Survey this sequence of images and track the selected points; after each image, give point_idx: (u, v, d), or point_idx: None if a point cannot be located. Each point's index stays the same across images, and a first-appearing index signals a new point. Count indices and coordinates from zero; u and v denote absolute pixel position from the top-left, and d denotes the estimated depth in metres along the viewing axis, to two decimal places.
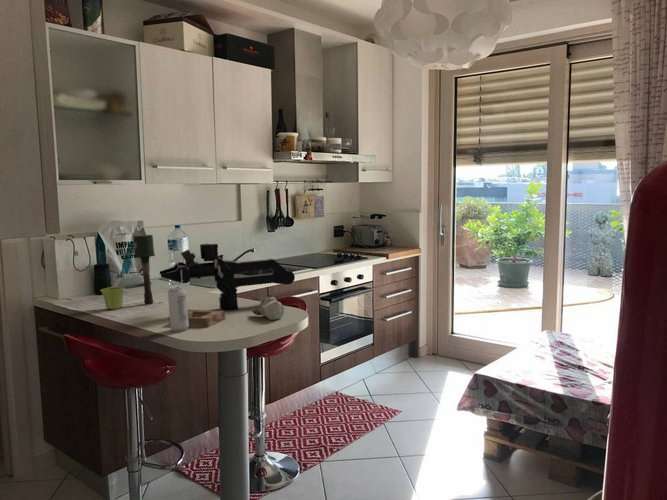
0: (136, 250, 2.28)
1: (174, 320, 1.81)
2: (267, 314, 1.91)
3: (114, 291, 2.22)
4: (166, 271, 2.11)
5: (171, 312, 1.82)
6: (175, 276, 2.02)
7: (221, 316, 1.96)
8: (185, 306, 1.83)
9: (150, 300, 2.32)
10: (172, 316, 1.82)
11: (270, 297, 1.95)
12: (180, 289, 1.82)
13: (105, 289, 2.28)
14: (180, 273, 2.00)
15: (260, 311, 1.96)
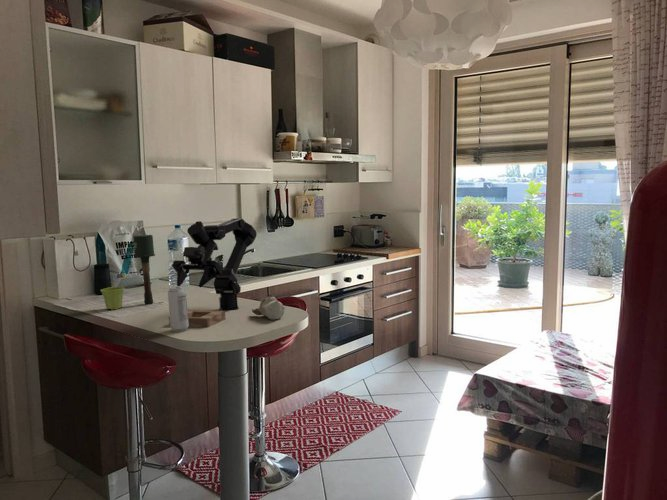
0: (136, 250, 2.28)
1: (174, 320, 1.81)
2: (268, 314, 1.92)
3: (114, 291, 2.22)
4: (180, 280, 1.93)
5: (171, 312, 1.82)
6: (208, 276, 1.92)
7: (221, 316, 1.96)
8: (185, 306, 1.83)
9: (150, 300, 2.32)
10: (172, 316, 1.82)
11: (270, 297, 1.95)
12: (180, 289, 1.82)
13: (105, 289, 2.28)
14: (213, 270, 1.91)
15: (260, 311, 1.96)
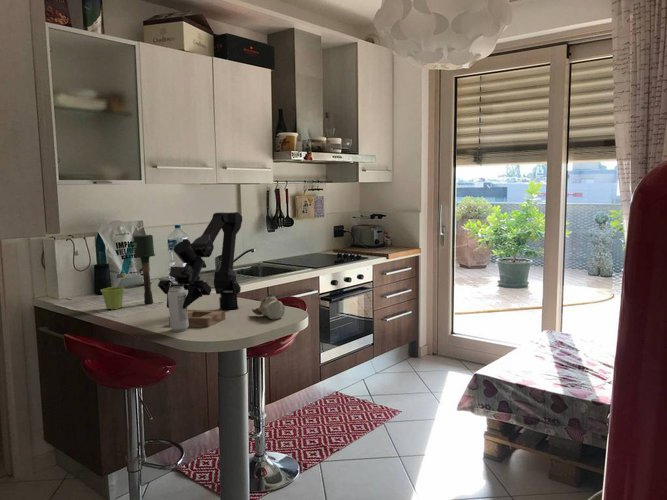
0: (136, 250, 2.28)
1: (174, 320, 1.81)
2: (268, 314, 1.92)
3: (114, 291, 2.22)
4: None
5: (171, 312, 1.82)
6: (192, 296, 1.85)
7: (221, 316, 1.96)
8: None
9: (150, 300, 2.32)
10: (172, 316, 1.82)
11: (271, 297, 1.96)
12: (180, 289, 1.82)
13: (105, 289, 2.28)
14: (198, 290, 1.84)
15: (261, 311, 1.97)
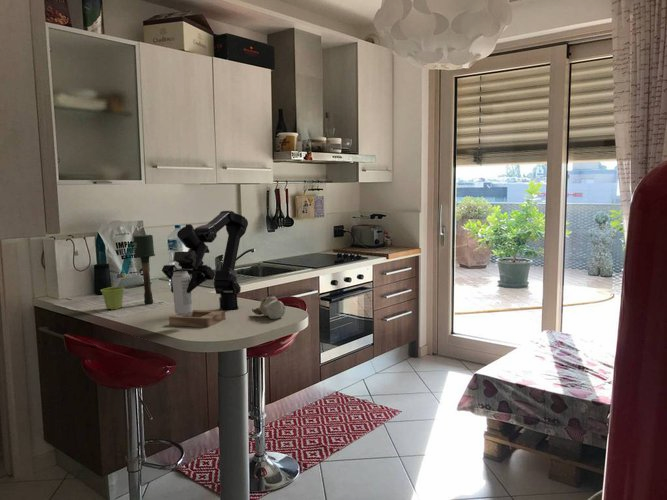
0: (136, 250, 2.28)
1: (179, 304, 1.84)
2: (269, 313, 1.92)
3: (114, 291, 2.22)
4: None
5: (175, 296, 1.84)
6: (196, 281, 1.87)
7: (221, 316, 1.96)
8: None
9: (150, 300, 2.32)
10: (176, 300, 1.84)
11: (271, 296, 1.96)
12: (184, 274, 1.84)
13: (105, 289, 2.28)
14: (201, 275, 1.86)
15: (261, 310, 1.97)
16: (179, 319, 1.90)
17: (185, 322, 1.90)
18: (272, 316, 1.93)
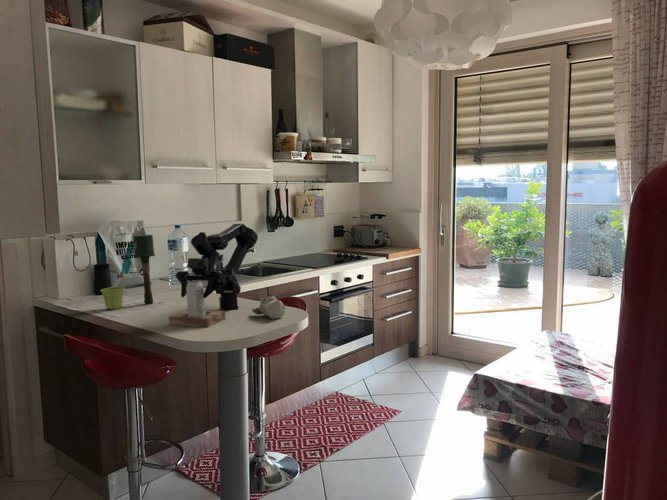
0: (136, 250, 2.28)
1: (192, 313, 1.91)
2: (268, 313, 1.93)
3: (114, 291, 2.22)
4: (184, 290, 1.95)
5: (189, 305, 1.92)
6: (212, 286, 1.94)
7: (221, 316, 1.96)
8: (202, 300, 1.93)
9: (150, 300, 2.32)
10: (190, 309, 1.92)
11: (271, 296, 1.97)
12: (198, 283, 1.92)
13: (105, 289, 2.28)
14: (217, 281, 1.93)
15: (261, 310, 1.97)
16: (179, 319, 1.90)
17: (185, 322, 1.90)
18: (272, 316, 1.93)
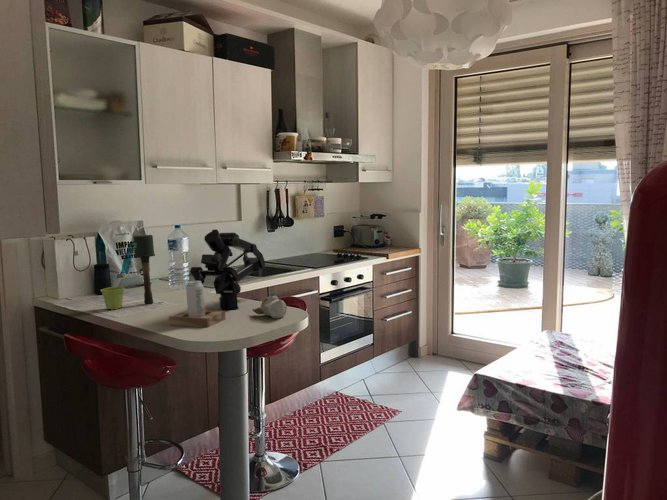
0: (136, 250, 2.28)
1: (192, 313, 1.91)
2: (271, 313, 1.93)
3: (114, 291, 2.22)
4: None
5: (189, 305, 1.92)
6: (225, 281, 2.02)
7: (221, 316, 1.96)
8: (202, 300, 1.93)
9: (150, 300, 2.32)
10: (190, 309, 1.92)
11: (272, 296, 1.97)
12: (198, 283, 1.92)
13: (105, 289, 2.28)
14: (230, 276, 2.02)
15: (262, 310, 1.98)
16: (179, 319, 1.90)
17: (185, 322, 1.90)
18: (274, 315, 1.94)
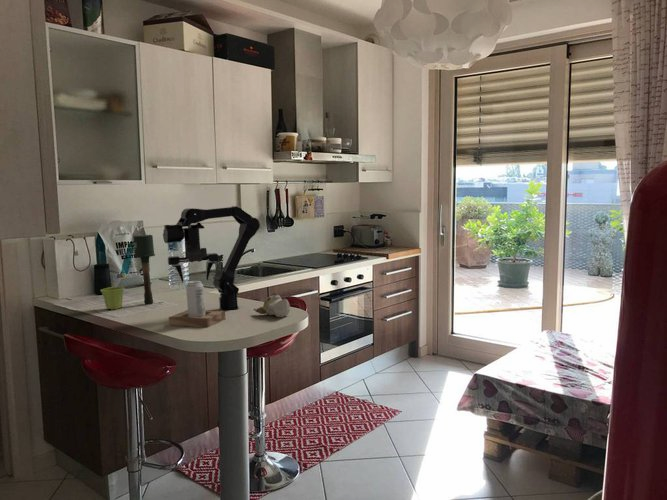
0: (135, 250, 2.28)
1: (192, 313, 1.91)
2: (275, 312, 1.94)
3: (114, 291, 2.22)
4: None
5: (189, 305, 1.92)
6: None
7: (221, 316, 1.96)
8: (202, 299, 1.93)
9: (150, 300, 2.32)
10: (190, 309, 1.92)
11: (276, 295, 1.98)
12: (198, 283, 1.92)
13: (105, 289, 2.28)
14: None
15: (266, 309, 1.98)
16: (179, 319, 1.90)
17: (185, 322, 1.90)
18: (279, 314, 1.95)
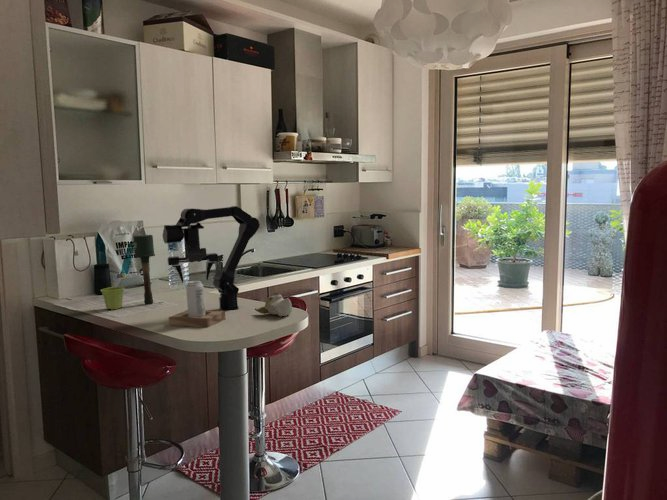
0: (136, 250, 2.28)
1: (192, 313, 1.91)
2: (278, 311, 1.95)
3: (114, 291, 2.22)
4: None
5: (189, 305, 1.92)
6: None
7: (221, 316, 1.96)
8: (202, 299, 1.93)
9: (150, 300, 2.32)
10: (190, 309, 1.92)
11: (278, 295, 1.99)
12: (198, 283, 1.92)
13: (105, 289, 2.28)
14: None
15: (268, 309, 1.99)
16: (179, 319, 1.90)
17: (185, 322, 1.90)
18: (282, 314, 1.96)
